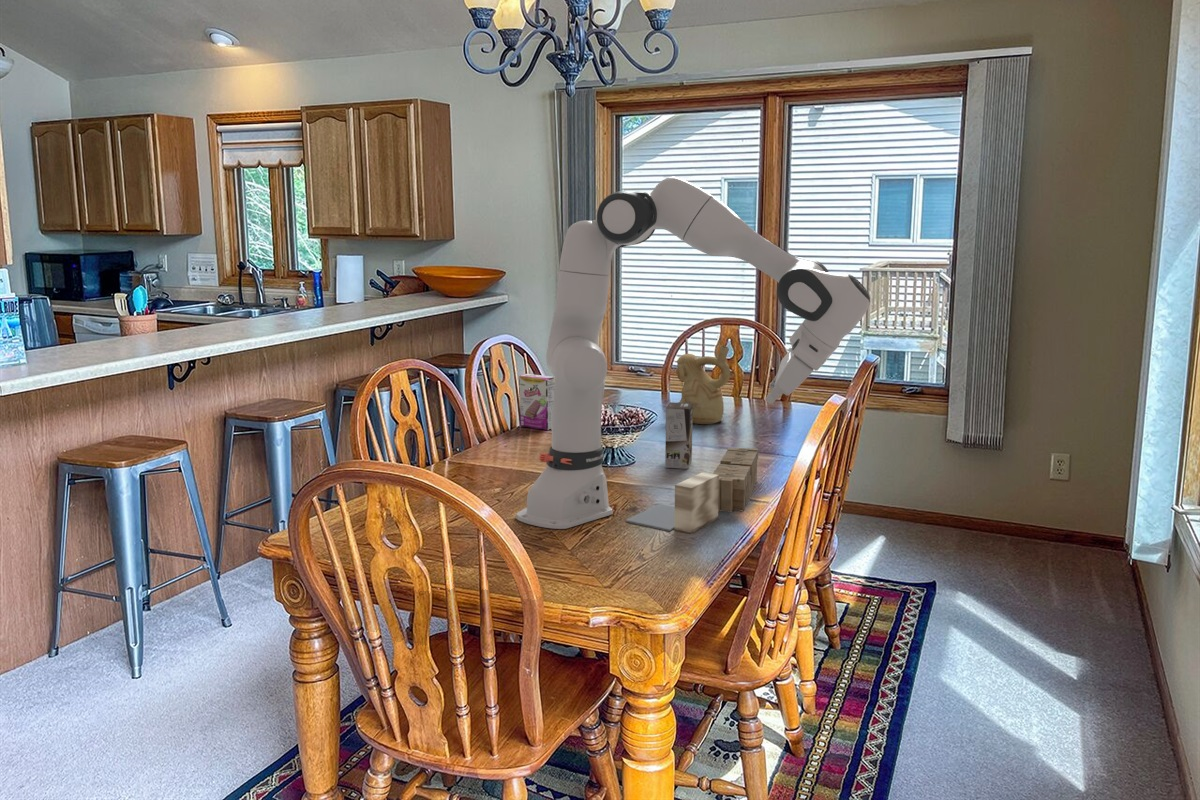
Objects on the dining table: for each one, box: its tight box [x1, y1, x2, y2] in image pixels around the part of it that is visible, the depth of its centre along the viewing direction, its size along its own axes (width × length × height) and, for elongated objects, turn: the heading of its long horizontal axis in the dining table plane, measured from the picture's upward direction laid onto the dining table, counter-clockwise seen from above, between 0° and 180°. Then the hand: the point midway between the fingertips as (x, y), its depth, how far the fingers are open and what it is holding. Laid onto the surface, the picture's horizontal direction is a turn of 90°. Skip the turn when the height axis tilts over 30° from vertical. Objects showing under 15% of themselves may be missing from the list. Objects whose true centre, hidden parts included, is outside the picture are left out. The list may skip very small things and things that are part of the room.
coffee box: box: [664, 401, 693, 470], centre depth 245 cm, size 9×6×16 cm
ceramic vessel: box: [675, 345, 731, 425], centre depth 297 cm, size 17×20×25 cm
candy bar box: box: [518, 373, 555, 431], centre depth 289 cm, size 11×5×16 cm, turn 58°
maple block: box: [673, 471, 719, 535], centre depth 197 cm, size 12×4×10 cm, turn 145°
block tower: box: [712, 447, 759, 513], centre depth 219 cm, size 8×8×29 cm
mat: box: [625, 503, 675, 532], centre depth 202 cm, size 14×11×1 cm
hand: (769, 395), depth 198 cm, fingers open, 8 cm apart
